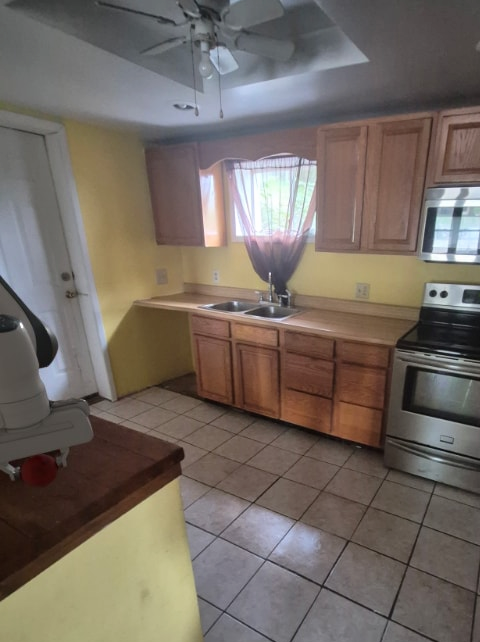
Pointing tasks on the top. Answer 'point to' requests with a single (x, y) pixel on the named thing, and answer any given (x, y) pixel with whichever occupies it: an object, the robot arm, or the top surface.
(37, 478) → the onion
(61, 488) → the top surface
